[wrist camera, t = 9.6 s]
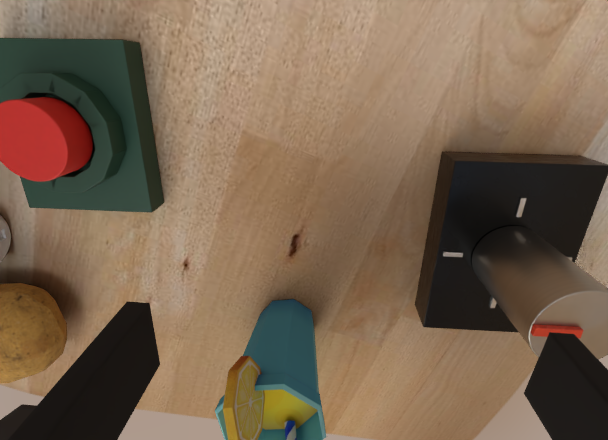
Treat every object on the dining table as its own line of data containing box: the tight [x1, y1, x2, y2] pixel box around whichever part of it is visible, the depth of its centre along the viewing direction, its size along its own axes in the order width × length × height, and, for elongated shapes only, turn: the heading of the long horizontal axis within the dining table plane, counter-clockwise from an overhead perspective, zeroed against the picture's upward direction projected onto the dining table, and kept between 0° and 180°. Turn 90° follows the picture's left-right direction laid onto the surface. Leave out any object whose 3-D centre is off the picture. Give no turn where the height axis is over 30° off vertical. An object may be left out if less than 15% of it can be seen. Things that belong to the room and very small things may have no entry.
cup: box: [215, 299, 326, 440], centre depth 26 cm, size 14×8×15 cm, turn 30°
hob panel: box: [415, 152, 608, 332], centre depth 27 cm, size 14×10×3 cm
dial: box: [472, 226, 608, 359], centre depth 22 cm, size 5×5×8 cm
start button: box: [0, 97, 93, 182], centre depth 22 cm, size 5×5×3 cm
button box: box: [0, 38, 164, 212], centre depth 25 cm, size 12×10×4 cm
